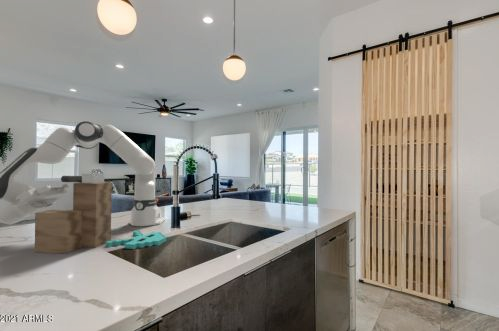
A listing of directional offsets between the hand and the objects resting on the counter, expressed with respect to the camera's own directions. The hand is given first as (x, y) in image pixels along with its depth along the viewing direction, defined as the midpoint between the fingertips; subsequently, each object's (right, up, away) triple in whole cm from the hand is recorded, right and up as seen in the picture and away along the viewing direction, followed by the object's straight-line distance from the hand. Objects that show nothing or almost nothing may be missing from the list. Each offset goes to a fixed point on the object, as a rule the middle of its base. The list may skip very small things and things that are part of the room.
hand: (58, 185), depth 113 cm
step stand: (+11, -24, -5) cm, 27 cm away
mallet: (+11, +2, -1) cm, 11 cm away
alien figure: (+35, -26, +2) cm, 44 cm away
